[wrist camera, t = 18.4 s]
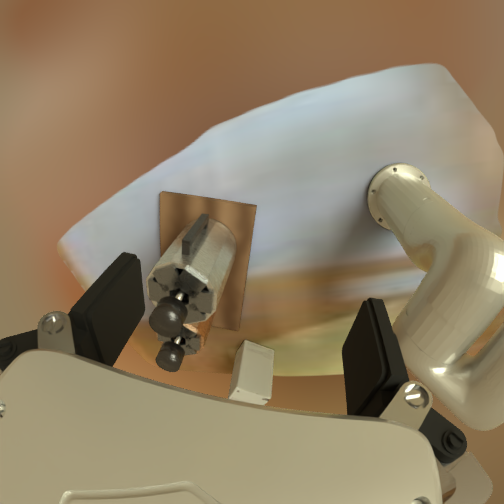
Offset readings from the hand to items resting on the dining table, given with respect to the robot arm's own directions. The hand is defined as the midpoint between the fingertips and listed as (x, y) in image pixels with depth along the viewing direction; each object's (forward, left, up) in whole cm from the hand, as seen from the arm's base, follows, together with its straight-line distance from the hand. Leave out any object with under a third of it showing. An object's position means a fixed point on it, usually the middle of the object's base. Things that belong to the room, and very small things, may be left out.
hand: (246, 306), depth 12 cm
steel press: (+11, +19, -39) cm, 45 cm away
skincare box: (-2, +48, -40) cm, 63 cm away
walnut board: (+12, +26, -40) cm, 49 cm away
